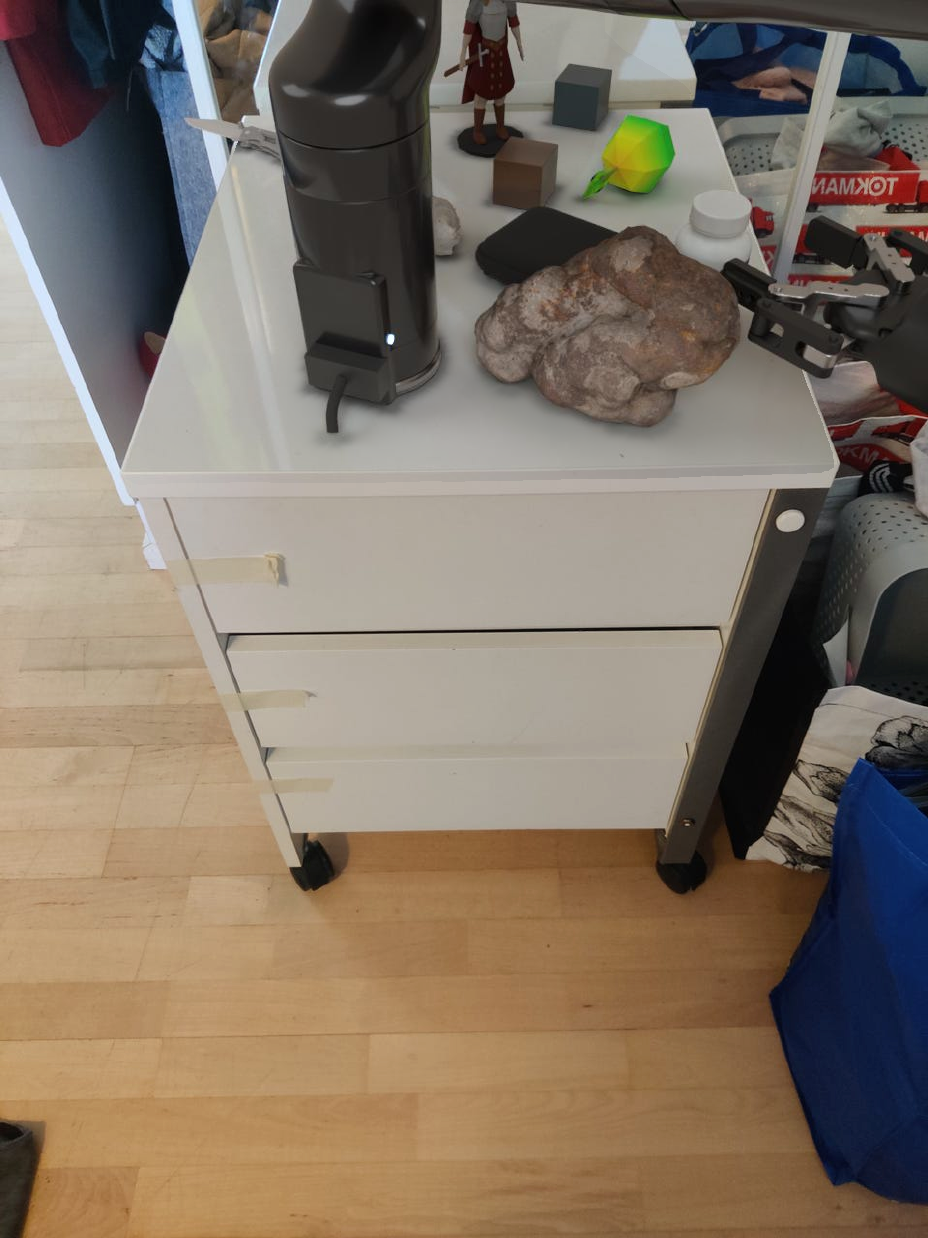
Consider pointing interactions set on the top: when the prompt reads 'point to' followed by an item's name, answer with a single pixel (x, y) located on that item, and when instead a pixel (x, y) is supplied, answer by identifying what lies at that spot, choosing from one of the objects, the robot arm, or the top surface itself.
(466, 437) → the top surface
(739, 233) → the pill bottle
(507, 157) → the walnut block
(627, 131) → the apple
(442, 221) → the seashell
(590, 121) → the slate block
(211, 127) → the knife
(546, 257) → the carrying case
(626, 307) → the rock
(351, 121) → the robot arm
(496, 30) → the figurine
